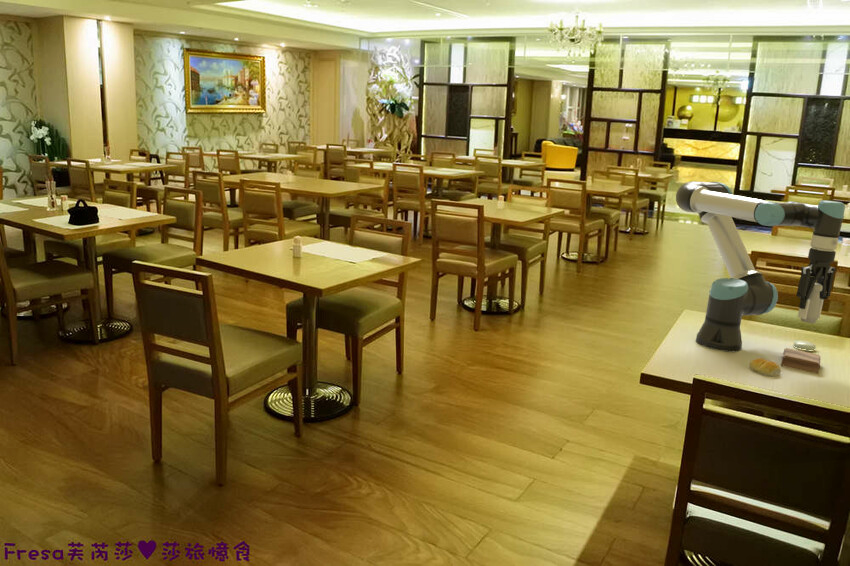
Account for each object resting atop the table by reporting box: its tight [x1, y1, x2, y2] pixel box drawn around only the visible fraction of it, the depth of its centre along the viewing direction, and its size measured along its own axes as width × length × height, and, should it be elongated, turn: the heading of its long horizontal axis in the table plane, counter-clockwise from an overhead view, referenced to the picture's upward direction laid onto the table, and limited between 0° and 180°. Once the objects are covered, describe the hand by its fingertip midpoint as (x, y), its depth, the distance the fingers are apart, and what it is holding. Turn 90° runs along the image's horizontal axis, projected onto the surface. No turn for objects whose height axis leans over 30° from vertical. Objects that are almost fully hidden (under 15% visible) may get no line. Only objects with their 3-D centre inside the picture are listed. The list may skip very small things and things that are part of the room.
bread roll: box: [749, 358, 782, 377], centre depth 225 cm, size 8×9×4 cm
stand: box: [780, 347, 821, 374], centre depth 234 cm, size 11×11×4 cm
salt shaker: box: [800, 282, 823, 324], centre depth 231 cm, size 6×6×13 cm
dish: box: [792, 339, 817, 350], centre depth 254 cm, size 7×7×2 cm
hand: (808, 317), depth 232 cm, fingers closed on salt shaker, 6 cm apart
